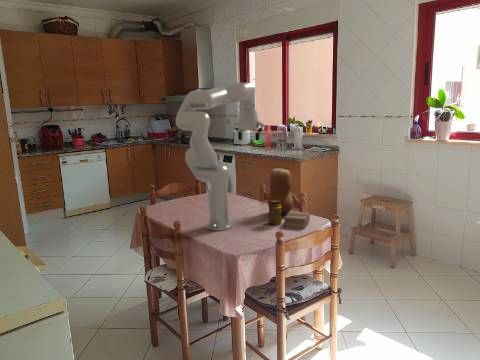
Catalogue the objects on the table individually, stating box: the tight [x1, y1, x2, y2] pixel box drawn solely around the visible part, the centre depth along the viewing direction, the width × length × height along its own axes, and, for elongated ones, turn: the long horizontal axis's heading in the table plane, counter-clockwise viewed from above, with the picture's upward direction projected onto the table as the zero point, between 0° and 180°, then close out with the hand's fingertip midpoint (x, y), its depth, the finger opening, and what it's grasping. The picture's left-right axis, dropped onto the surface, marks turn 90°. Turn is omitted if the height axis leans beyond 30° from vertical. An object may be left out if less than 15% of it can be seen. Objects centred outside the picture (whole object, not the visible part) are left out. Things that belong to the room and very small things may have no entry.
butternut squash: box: [267, 168, 294, 216], centre depth 203 cm, size 14×13×25 cm
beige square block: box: [284, 210, 311, 229], centre depth 188 cm, size 10×10×5 cm
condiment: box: [263, 200, 285, 228], centre depth 189 cm, size 7×8×12 cm
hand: (248, 140), depth 202 cm, fingers open, 9 cm apart
